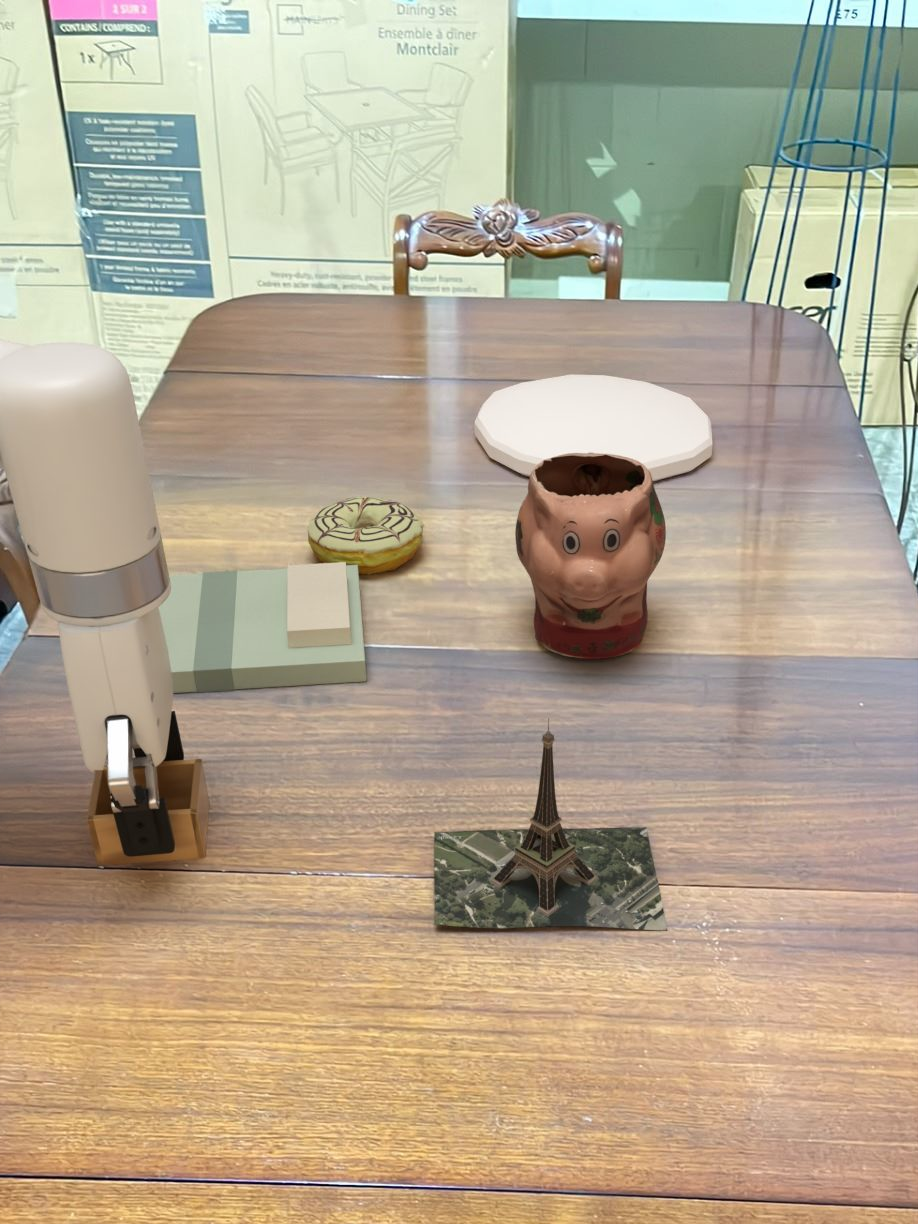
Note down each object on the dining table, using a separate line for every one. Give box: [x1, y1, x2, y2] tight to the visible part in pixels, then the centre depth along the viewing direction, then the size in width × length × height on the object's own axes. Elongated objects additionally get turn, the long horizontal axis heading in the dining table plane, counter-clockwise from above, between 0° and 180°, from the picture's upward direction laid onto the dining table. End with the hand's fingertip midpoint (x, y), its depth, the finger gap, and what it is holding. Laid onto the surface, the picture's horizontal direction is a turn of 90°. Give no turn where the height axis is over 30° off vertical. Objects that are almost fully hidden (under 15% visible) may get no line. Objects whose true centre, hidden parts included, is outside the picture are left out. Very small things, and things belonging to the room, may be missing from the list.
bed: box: [159, 562, 368, 694], centre depth 113 cm, size 22×16×4 cm
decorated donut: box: [307, 496, 425, 575], centre depth 124 cm, size 10×11×4 cm
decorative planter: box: [514, 453, 667, 659], centre depth 112 cm, size 20×12×14 cm, turn 3°
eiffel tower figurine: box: [433, 718, 668, 932], centre depth 86 cm, size 15×10×13 cm
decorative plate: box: [474, 373, 714, 482], centre depth 144 cm, size 25×4×25 cm
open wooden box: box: [86, 758, 210, 866], centre depth 91 cm, size 7×6×6 cm
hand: (156, 805), depth 90 cm, fingers open, 9 cm apart
